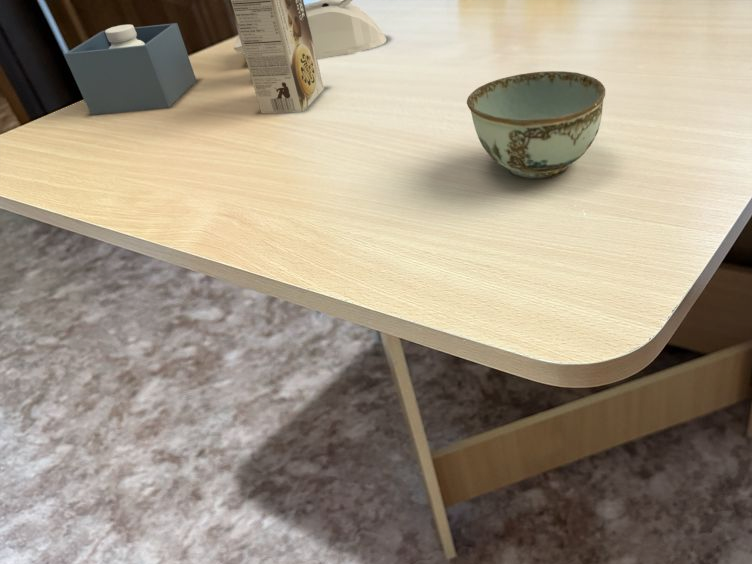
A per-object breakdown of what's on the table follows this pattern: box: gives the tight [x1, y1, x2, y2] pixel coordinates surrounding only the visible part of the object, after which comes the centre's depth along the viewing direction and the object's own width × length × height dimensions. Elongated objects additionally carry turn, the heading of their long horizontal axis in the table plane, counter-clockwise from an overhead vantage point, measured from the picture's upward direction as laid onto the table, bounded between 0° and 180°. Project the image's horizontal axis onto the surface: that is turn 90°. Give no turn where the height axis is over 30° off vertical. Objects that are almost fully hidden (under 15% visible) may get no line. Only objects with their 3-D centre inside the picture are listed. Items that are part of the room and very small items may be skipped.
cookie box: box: [228, 0, 325, 114], centre depth 92 cm, size 9×6×16 cm
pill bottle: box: [104, 24, 145, 49], centre depth 102 cm, size 5×5×10 cm
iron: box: [233, 0, 387, 59], centre depth 112 cm, size 11×24×15 cm, turn 99°
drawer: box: [63, 22, 197, 116], centre depth 104 cm, size 16×12×9 cm
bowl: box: [466, 70, 606, 181], centre depth 70 cm, size 14×13×8 cm
